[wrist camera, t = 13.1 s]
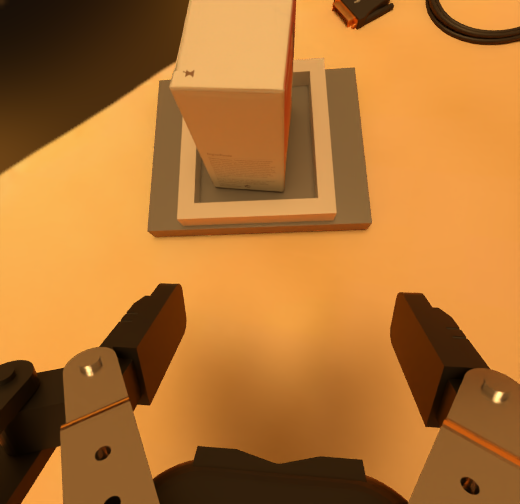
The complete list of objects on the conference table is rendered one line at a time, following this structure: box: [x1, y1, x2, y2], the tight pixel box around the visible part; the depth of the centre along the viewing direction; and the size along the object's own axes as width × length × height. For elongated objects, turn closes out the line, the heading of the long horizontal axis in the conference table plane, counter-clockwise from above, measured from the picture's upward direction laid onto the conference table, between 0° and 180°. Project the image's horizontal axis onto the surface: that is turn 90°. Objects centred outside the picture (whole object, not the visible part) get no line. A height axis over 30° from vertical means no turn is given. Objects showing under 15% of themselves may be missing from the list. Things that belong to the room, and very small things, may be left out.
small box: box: [169, 0, 296, 192], centre depth 20 cm, size 8×6×10 cm
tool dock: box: [148, 58, 372, 237], centre depth 26 cm, size 17×14×3 cm
